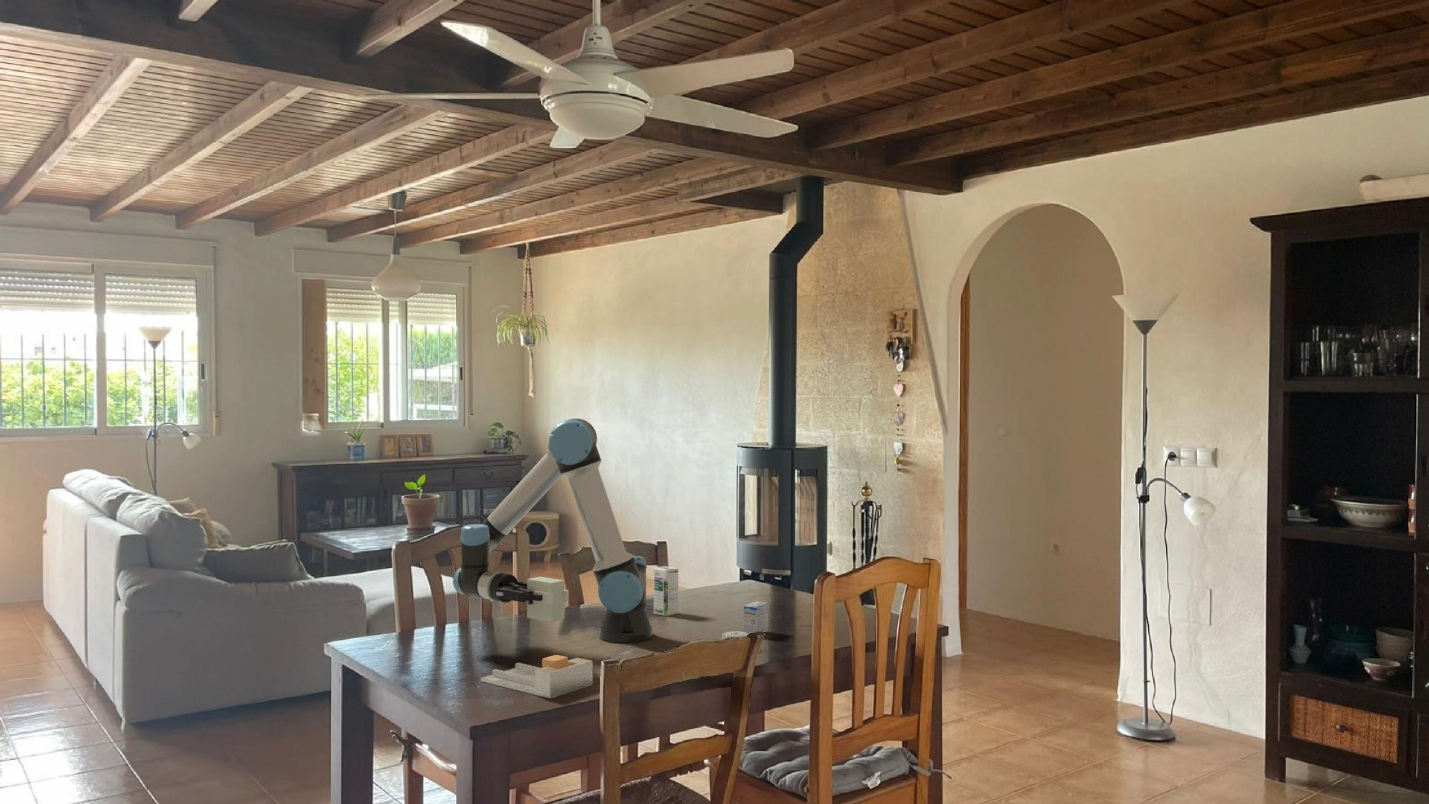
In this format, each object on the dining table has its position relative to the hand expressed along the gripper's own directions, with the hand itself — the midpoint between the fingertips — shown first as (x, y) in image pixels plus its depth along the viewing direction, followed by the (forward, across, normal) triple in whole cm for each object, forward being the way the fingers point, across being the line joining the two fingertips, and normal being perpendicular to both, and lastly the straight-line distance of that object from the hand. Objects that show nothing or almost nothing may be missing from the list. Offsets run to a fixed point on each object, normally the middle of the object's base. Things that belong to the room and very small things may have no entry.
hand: (560, 597), depth 268 cm
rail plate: (+5, +13, -18) cm, 23 cm away
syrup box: (-20, -65, -18) cm, 70 cm away
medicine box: (+18, -60, -18) cm, 66 cm away
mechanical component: (+24, -43, -19) cm, 53 cm away
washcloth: (+14, -16, -19) cm, 28 cm away
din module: (-5, 0, -6) cm, 8 cm away
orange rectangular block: (+11, +13, -17) cm, 24 cm away
